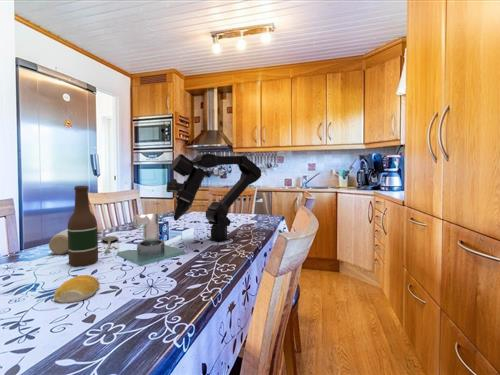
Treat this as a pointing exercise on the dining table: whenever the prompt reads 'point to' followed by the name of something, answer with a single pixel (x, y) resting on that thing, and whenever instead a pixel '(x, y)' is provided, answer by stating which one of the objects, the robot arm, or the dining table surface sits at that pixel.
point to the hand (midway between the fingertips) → (174, 219)
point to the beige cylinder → (59, 243)
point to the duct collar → (150, 253)
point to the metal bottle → (148, 227)
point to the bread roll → (76, 289)
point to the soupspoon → (109, 239)
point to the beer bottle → (82, 231)
